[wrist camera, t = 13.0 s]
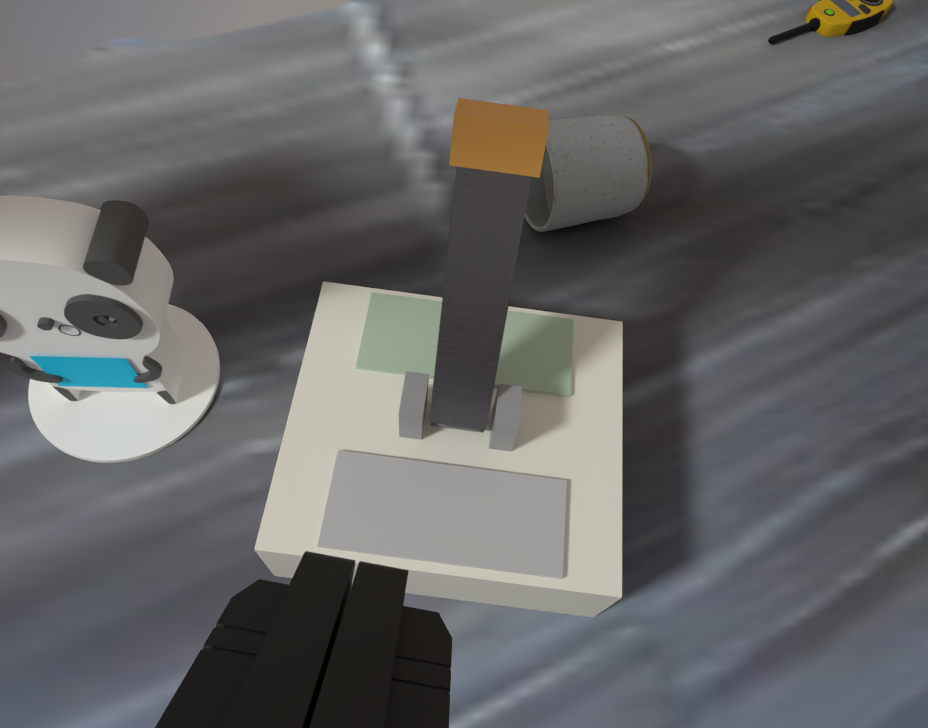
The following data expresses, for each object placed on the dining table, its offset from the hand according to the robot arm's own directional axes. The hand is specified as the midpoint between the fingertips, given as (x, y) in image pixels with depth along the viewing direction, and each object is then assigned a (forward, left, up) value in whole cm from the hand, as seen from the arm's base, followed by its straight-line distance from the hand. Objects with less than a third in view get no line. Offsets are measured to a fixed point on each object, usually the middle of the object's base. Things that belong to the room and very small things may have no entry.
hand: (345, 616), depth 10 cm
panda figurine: (-26, -1, -30) cm, 40 cm away
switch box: (-8, +11, -30) cm, 33 cm away
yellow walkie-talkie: (-20, +68, -31) cm, 77 cm away
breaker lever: (-8, +11, -23) cm, 27 cm away
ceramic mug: (-20, +32, -30) cm, 49 cm away
